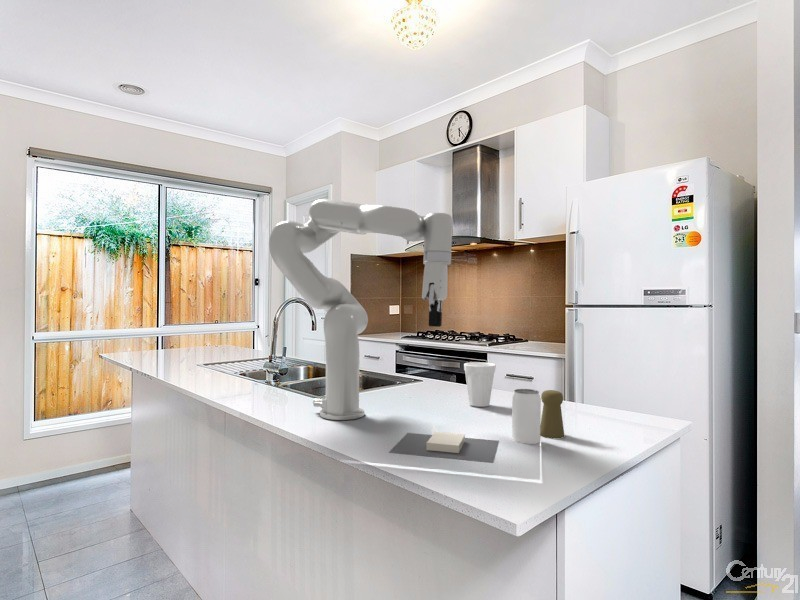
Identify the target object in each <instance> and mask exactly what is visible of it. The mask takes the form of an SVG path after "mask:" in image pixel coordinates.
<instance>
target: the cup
mask: <svg viewBox="0 0 800 600" xmlns="http://www.w3.org/2000/svg"><path fill="white" fill-rule="evenodd" d="M463 371H464V373H465V381H466V389H467V396H468V397H467V398H468V404H469V406H472V407H479V408H480V407H488V406H490V403H491V397H492V396H491V395H492V390H493V383H494V382H493V381H494V378H495V377H494V376H495V372H496V363H492V362H491V363H490V362H483V361H482V362H480V361H473V362H472V361H471V362H470V361H469V362H465V363H463Z"/></svg>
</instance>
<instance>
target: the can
mask: <svg viewBox="0 0 800 600" xmlns="http://www.w3.org/2000/svg"><path fill="white" fill-rule="evenodd" d="M539 393H540V391H539V390H536V389H531V388H517V389H514V392H513V394H512V400H511V401H512V402H511V404H512V405H511V407H512V408H511V416H512V417H511V439H512V441H514V442H517V443H520V444H526V445H528V444H531V445H533V444H538V443H539V444H540V443H541V436H540V425H541V418H542V413H541V412H542V411H541V407H542V404H541V403H542V399H541V396H540V395H539Z"/></svg>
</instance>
